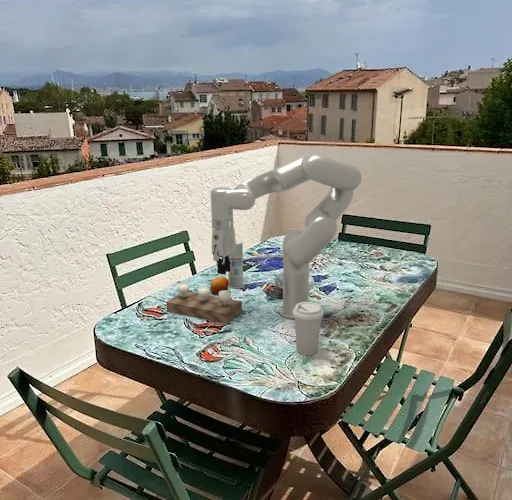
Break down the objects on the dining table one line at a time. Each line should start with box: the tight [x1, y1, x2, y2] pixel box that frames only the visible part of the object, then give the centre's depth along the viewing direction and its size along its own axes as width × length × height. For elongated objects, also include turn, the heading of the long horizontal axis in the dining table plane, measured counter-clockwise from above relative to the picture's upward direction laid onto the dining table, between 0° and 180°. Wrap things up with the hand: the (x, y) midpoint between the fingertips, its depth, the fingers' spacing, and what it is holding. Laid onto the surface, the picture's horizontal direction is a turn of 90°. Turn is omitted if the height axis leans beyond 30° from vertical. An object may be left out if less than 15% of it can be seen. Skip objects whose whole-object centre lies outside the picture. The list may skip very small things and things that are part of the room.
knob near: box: [218, 289, 232, 306], centre depth 168 cm, size 4×4×5 cm
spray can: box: [227, 239, 244, 290], centre depth 195 cm, size 6×6×20 cm
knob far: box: [177, 282, 190, 298], centre depth 175 cm, size 4×4×5 cm
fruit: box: [209, 275, 229, 295], centre depth 191 cm, size 8×8×8 cm
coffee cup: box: [293, 301, 324, 356], centre depth 143 cm, size 10×10×15 cm
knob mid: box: [197, 286, 211, 302], centre depth 172 cm, size 4×4×5 cm
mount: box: [165, 291, 243, 325], centre depth 173 cm, size 26×12×4 cm, turn 65°
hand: (224, 272), depth 165 cm, fingers open, 2 cm apart
